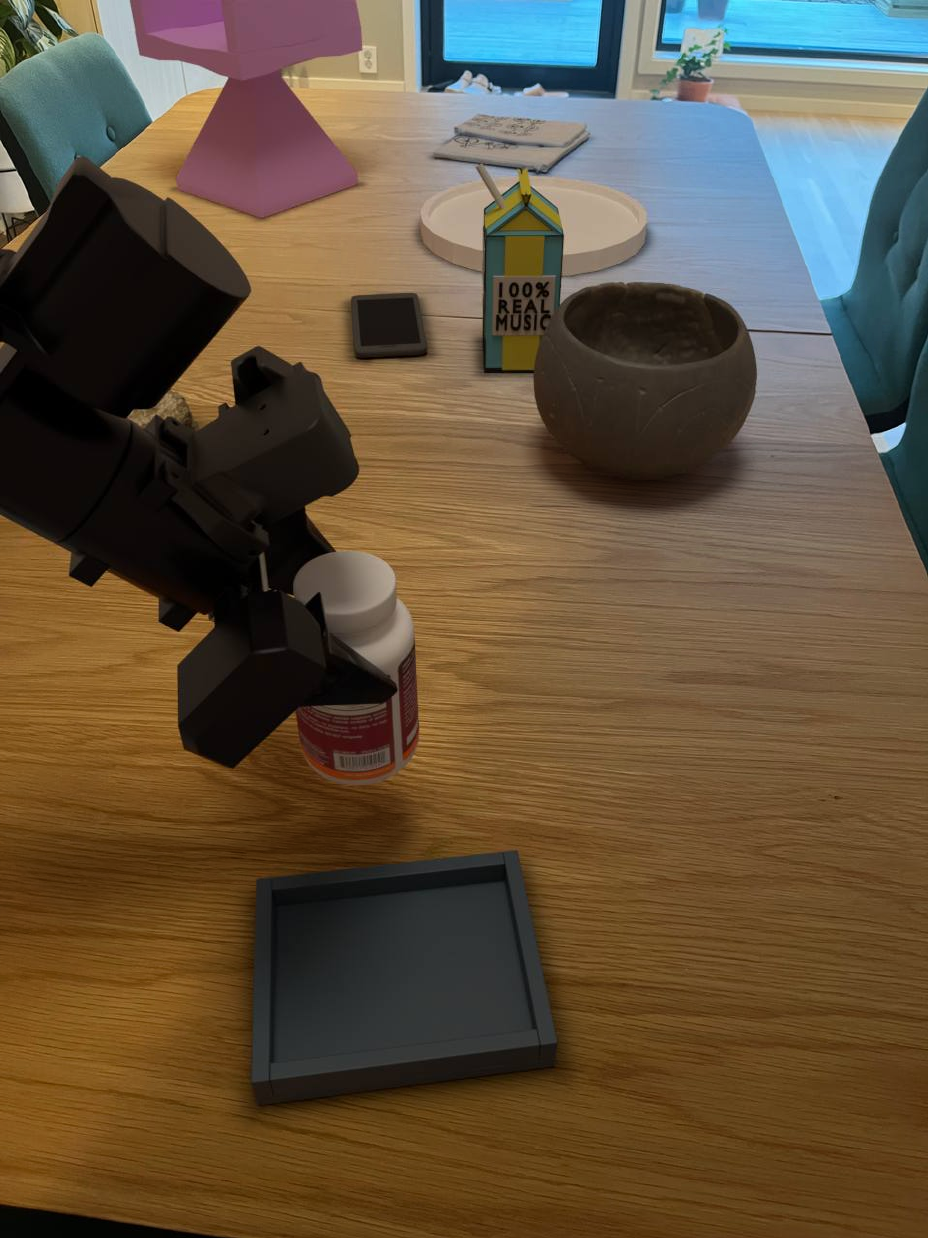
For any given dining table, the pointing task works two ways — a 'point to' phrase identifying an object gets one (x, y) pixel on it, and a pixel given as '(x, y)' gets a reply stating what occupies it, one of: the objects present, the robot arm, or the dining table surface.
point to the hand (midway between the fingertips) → (380, 648)
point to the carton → (518, 274)
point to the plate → (589, 213)
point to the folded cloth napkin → (513, 141)
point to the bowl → (644, 378)
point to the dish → (396, 978)
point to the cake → (166, 411)
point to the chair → (255, 95)
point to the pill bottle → (384, 635)
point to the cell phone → (387, 325)
